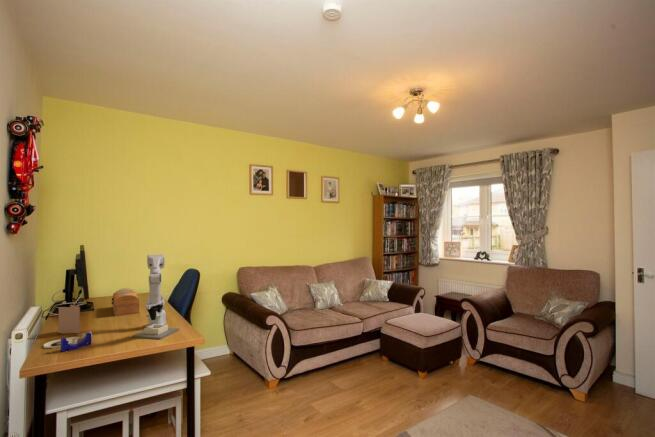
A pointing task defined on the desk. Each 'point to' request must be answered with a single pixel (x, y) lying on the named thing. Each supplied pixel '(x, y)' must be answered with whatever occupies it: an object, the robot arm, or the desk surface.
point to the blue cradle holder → (69, 347)
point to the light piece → (69, 340)
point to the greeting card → (69, 319)
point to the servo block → (157, 319)
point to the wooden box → (125, 302)
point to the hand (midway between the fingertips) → (154, 318)
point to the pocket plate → (155, 332)
